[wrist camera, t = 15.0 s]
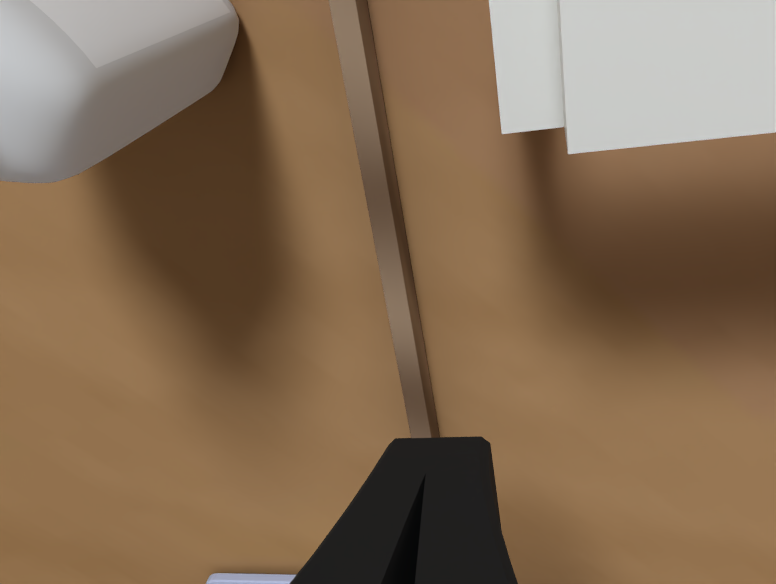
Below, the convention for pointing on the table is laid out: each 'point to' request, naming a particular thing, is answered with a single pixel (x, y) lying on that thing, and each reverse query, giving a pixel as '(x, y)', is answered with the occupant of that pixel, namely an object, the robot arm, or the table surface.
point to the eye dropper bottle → (100, 76)
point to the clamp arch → (635, 69)
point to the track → (384, 208)
